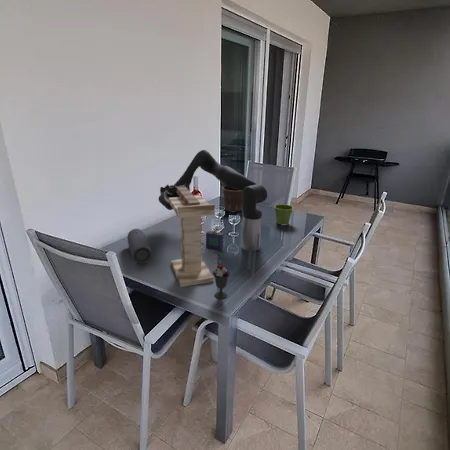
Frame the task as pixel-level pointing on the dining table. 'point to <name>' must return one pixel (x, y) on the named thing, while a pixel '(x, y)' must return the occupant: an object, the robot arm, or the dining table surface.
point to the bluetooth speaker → (139, 246)
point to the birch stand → (191, 242)
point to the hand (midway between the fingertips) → (177, 186)
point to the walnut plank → (187, 196)
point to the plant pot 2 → (283, 213)
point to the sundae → (221, 280)
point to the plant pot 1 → (232, 198)
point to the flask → (214, 240)
